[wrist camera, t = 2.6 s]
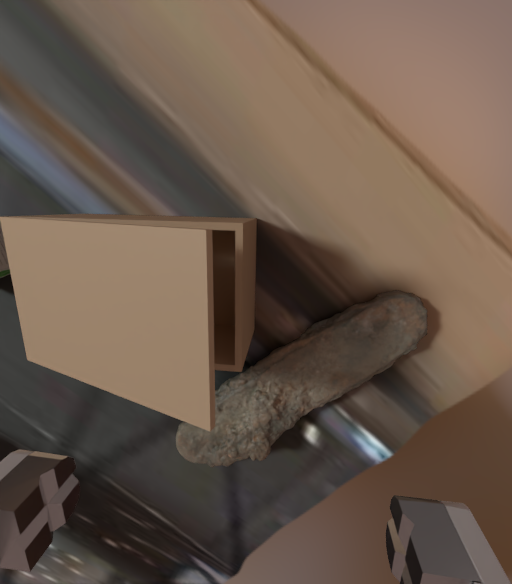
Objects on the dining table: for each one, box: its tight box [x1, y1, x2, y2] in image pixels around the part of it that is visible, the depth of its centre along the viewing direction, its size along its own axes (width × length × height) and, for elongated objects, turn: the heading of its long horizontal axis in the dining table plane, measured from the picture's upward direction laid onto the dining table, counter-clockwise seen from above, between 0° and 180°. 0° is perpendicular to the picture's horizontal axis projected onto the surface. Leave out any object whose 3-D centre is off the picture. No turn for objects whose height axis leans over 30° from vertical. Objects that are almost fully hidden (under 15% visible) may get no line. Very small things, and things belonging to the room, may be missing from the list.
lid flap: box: [0, 217, 215, 432], centre depth 23 cm, size 13×20×1 cm, turn 89°
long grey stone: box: [176, 290, 427, 467], centre depth 37 cm, size 35×5×10 cm
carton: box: [10, 214, 257, 372], centre depth 32 cm, size 13×20×10 cm, turn 89°
